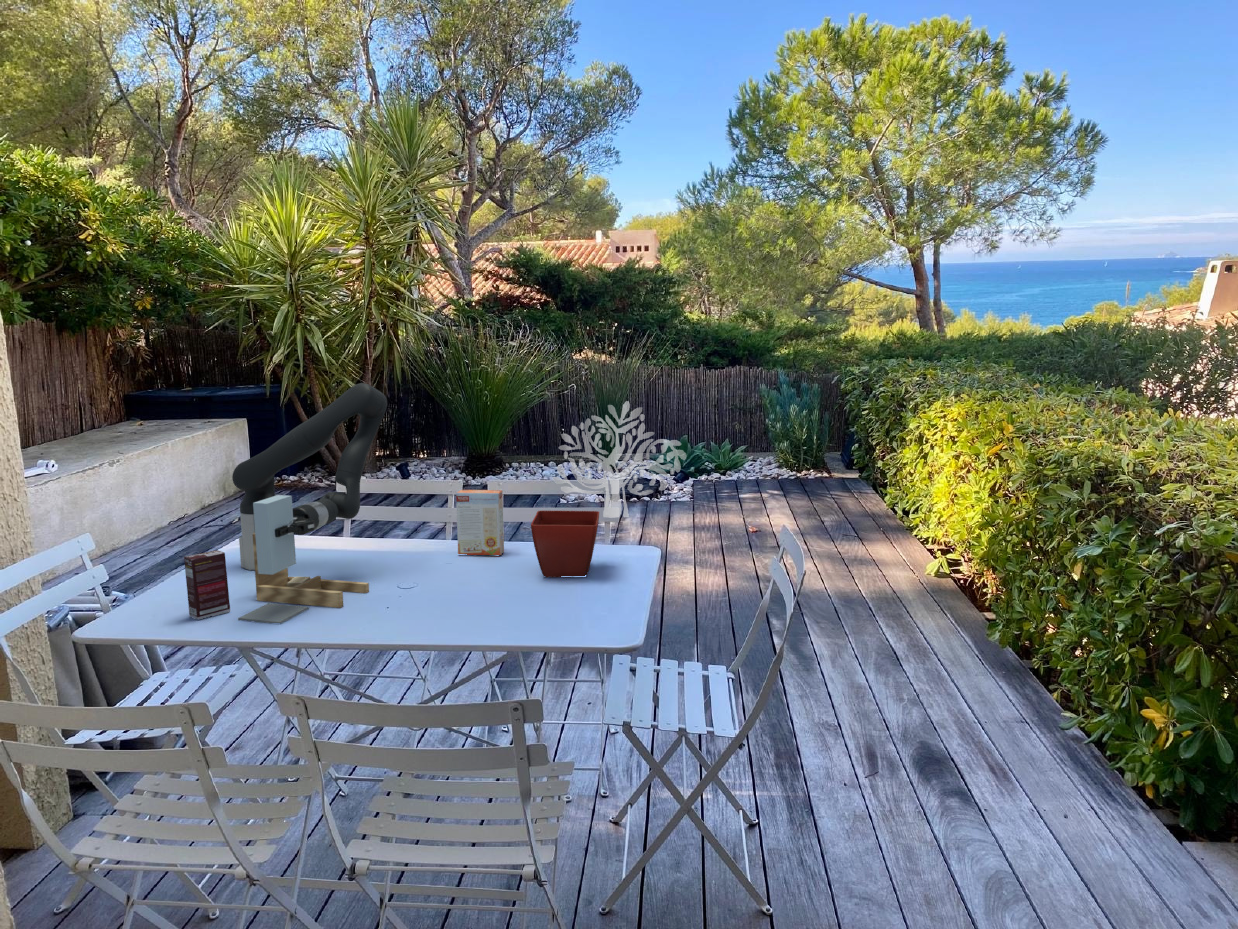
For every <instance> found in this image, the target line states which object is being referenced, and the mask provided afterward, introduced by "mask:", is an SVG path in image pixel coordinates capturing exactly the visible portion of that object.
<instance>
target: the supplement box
mask: <svg viewBox="0 0 1238 929" xmlns="http://www.w3.org/2000/svg"><path fill="white" fill-rule="evenodd" d="M183 558H184V559H183V561H184V570H185V581H186V582H185V583H186V592H187V604H188V614H189V617H190V618H192V617H193V618H192V619H194V618H195V619H194V620H196V619H201V620H204V619H203V618H205V619H207V618H206V617H208V618H210V617H209V616H212V617H216V616H218V615H224V614H226V613H227V614H228V613H229V612H230V611H231V606H230V596H229V594H230V593H229V582H228V572H227V562H226V552H224V551H221V550H217V549H216V550H211V551H204V552H200V553H197V554H191V555H186V556H184V557H183Z"/></svg>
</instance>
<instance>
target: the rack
mask: <svg viewBox="0 0 1238 929" xmlns="http://www.w3.org/2000/svg"><path fill="white" fill-rule="evenodd" d="M252 535H253V550H254V564H255V570H254V577H255V591H256V592H255V593H256V600H257V601H258V602H267V603H278V602H279V603H278V604H289V605H300V606H312V607H313V606H315V607H324V608H326V607H327V608H336V609H341V608H343V607H344V592H347V593H358V594H359V593H361V594H367V593H369V592H370V584H369V582H362V581H351V580H349V581H348V580H338V579H336V580H335V579H323V578H322V576H321V575H316V576H314V577H310V580H308V581H306V582H303V583H301V584H299V585H297V586H295V587H287V583H288V582H289V581H290V580H292V579H293V578H294V577H295V576H289V569H288V568H289V567H288V568H286V569H284V570H282V571H279V572H277V573H275V574H273V575H270V574H258V563H257V550H256V536H255V533H254V534H252Z"/></svg>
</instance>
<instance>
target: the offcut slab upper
mask: <svg viewBox="0 0 1238 929" xmlns="http://www.w3.org/2000/svg"><path fill="white" fill-rule="evenodd" d="M293 577H294V578H293V579H292V580H290V581H289V582H288V583H287V587H295V586H297V585H299V584H301V583H303V582H306V581H308V580H310V578H311V577H310V576H293Z"/></svg>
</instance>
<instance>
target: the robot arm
mask: <svg viewBox="0 0 1238 929" xmlns="http://www.w3.org/2000/svg"><path fill="white" fill-rule="evenodd" d="M387 407H388V399H387V397H386V396H385V394H384V393H383V392H381V390H379V389H377V388H375V387H374V386H372V385H370V384H369V383H365V382H360V383H357V384H355V385H353V386H351V387H350V388H349V389H346V391H345V392H343V393H342V394H341V395H340V396H339V397H338V398H336V399H335V400H334V401H333V402H331V403H330V404H329V405H327V406H326V407H325V408H323V409H321V410H320V411H319V412H317V413H316V414H314V415H313V416H311V417H310V418H308V419H307V420H305V421H303V422H302V423H300V424H299V425H297V426H296V427H294V428H293V429H291V430H290V431H289V432H287V433H286V434H285V435H284V436H282V437H281V438H279V439H278V440H276V442H274V443H273V444H271V445H270V446H269V447H268V448H266V449H265V450H263V451H261V452H260V453H258V454H256V455H254V456H252V457H251V458H248V459H246V460H244V461H242V462H240V463H238V464H237V465H236V467H235V468H234V470H233V473H232V476H231V478H232V482H233V484H234V486H235V487H236V488H237V489H238V490H240V491H243V492H244V496H243V498H242V500H241V502H240V504H239V512H240V513H239V514H240V515H239V516H240V526H241V527H240V528H241V536H239V537H238V541H239V544H238V545H239V556H240V558H239V559H240V568H243V569H244V570H245V569H246V570H248V571H249V570H250V571H255V564H254V550H253V535H252V534H254V533H255V522H254V509H253V503H254V502H258V501H261V500H264V499H267V498H270V497H273V496H276V490H275V488H276V486H275V483H276V482H275V475H276V474H277V473H278V472H280V471H282V470H283V469H286V468H288V467H290V466H293V465H295V464H298V462H301V461H303V460H305V459H306V458H308V457H310V456H313V455H314V454H316V453H317V452H318V451H320V450H321V449H323V448H324V447H326V446H327V445H328V444H329V443H330V441H331V440H332V438H333V436H334V434H335V432H336V430H337V428H338V427H340V425H341V424H343V423H344V422H345V421H347V420H348V419H350V418H351V417H353V416H356V415H358V416H359V417H360V420H359V424H358V428H357V431H356V433H355V434H354V436H353V438H352V439H351V440H350V441H349V443H348V444H347V445H346V446H345V448H344V450H343V451H342V452H341V455H340V458H339V461H338V464H337V469H336V472H335V476H334V480H335V482H336V483H337V484H339V485H342V486H344V487H345V489H346V490H345V492H346V493H343V492H337V491H330V492H326V493H323V495H322V496H321V497H320V498H319V499H318V500H315V501H311V502H308V503H304V504H300V505H297V506H295V507H292V508H293V520H291V521H290V522H289V524H286V526H282V527H279V528H276V529H275V537H281V536H283V535H286V534H287V535H290V534H294V536H296V535H298V536H304V535H306V534H309V533H311V532H314V531H317V530H318V529H320V528H321V527H323V526H326V525H328V524H330V523H332V522H333V521H335V520H336V519H337V518H341V519H346V520H352V519H353V518H354V519H355V517H356V516H357V515H358V514H359V512H360V508H361V492H360V491H361V479H362V477H363V471H364V468H365V464H366V461H367V457H368V454H369V452H370V448H371V447H372V446H371V445H372V444H373V441H374V439H375V437H376V435H377V432H378V429H379V428H380V425H381V422H382V420H383V418H384V416H385V414H386V411H387Z"/></svg>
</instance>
